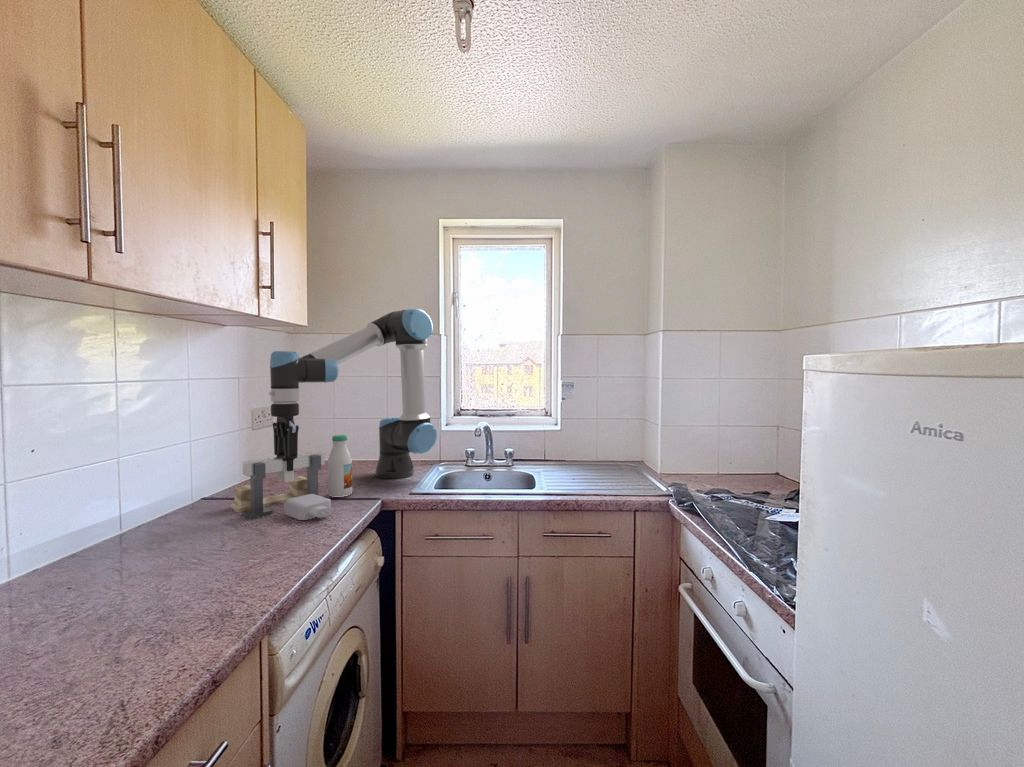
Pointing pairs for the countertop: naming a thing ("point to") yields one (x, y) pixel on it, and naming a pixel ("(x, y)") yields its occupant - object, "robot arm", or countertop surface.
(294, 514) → the charger
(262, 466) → the hook standards
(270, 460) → the rail
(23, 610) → the countertop surface
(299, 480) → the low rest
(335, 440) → the milk bottle
